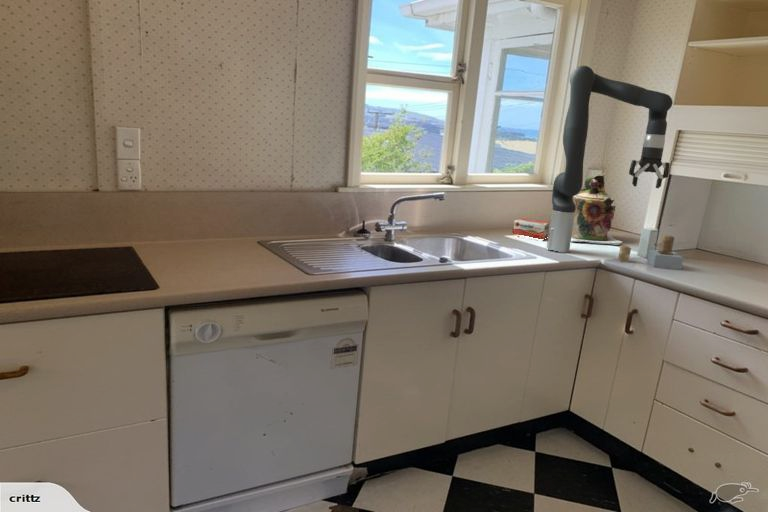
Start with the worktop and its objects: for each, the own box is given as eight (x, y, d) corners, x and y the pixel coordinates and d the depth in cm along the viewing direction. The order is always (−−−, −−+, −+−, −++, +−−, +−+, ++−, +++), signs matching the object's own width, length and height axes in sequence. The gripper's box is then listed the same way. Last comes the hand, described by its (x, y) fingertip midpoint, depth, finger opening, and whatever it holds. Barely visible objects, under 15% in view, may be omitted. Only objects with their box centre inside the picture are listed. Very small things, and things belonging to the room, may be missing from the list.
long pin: (659, 265, 219) (665, 236, 216) (657, 263, 222) (662, 235, 219) (668, 266, 218) (674, 237, 215) (666, 264, 222) (671, 235, 219)
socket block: (653, 267, 216) (655, 254, 215) (646, 261, 226) (648, 249, 225) (680, 269, 214) (682, 257, 213) (672, 263, 224) (674, 251, 223)
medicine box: (511, 236, 260) (513, 220, 258) (517, 234, 267) (519, 218, 265) (543, 241, 253) (545, 224, 251) (548, 239, 260) (550, 222, 258)
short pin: (619, 261, 222) (622, 247, 221) (618, 259, 226) (620, 245, 224) (628, 262, 222) (631, 248, 220) (626, 260, 225) (629, 246, 224)
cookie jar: (555, 232, 277) (564, 169, 269) (604, 235, 277) (614, 172, 269) (570, 243, 253) (580, 173, 245) (623, 246, 253) (635, 177, 245)
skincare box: (646, 258, 231) (651, 230, 229) (636, 255, 235) (641, 228, 232) (654, 256, 235) (659, 229, 232) (644, 254, 238) (649, 227, 236)
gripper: (636, 145, 214) (629, 186, 218) (675, 148, 212) (667, 189, 216) (632, 144, 221) (625, 184, 225) (669, 147, 219) (662, 187, 223)
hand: (646, 187), depth 220 cm, fingers open, 8 cm apart
